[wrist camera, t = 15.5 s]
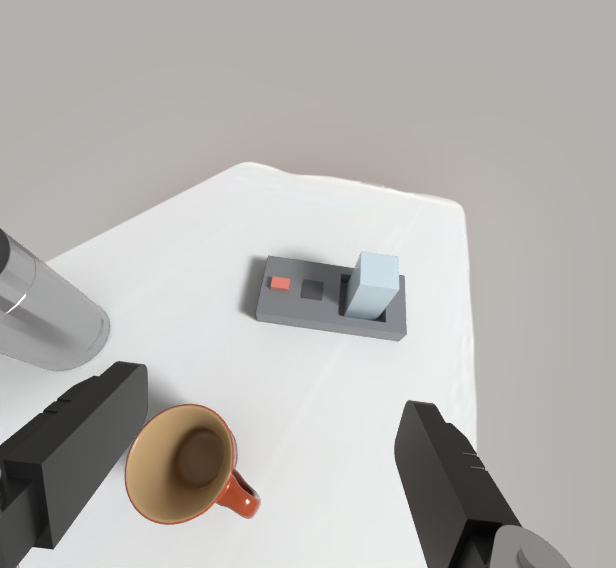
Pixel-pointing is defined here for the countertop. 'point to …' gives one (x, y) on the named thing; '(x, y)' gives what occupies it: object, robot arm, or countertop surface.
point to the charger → (371, 286)
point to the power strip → (322, 300)
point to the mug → (186, 467)
